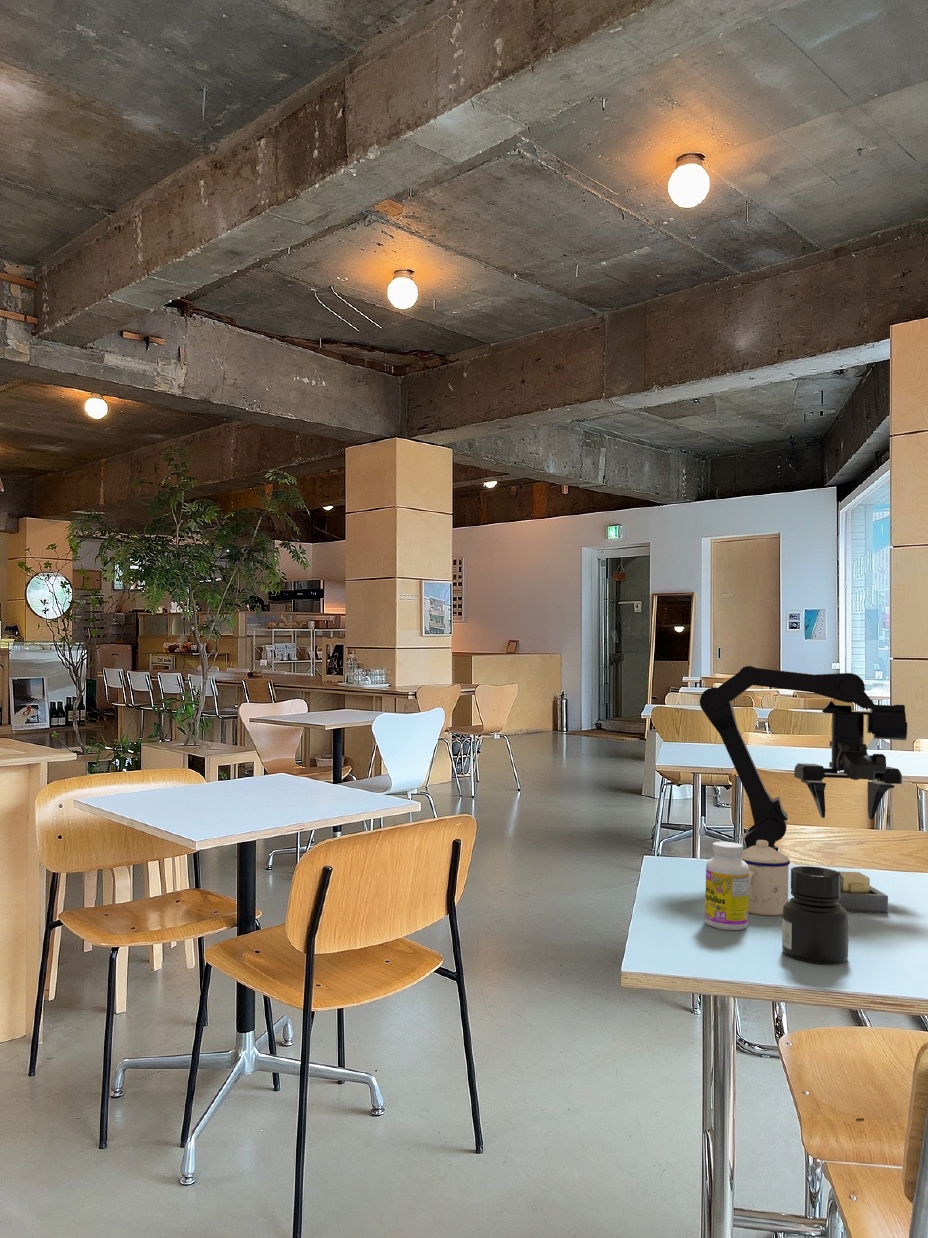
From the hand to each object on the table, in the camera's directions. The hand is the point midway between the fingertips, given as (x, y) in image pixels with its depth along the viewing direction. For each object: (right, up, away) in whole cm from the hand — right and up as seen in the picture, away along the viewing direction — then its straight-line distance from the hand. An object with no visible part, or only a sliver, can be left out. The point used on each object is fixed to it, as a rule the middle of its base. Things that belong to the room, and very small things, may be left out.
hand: (846, 818), depth 176 cm
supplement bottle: (-32, -11, -31) cm, 46 cm away
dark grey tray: (-6, -12, -12) cm, 18 cm away
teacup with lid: (-24, -11, -21) cm, 34 cm away
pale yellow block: (-6, -12, -16) cm, 20 cm away
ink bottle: (-24, -10, -45) cm, 52 cm away
